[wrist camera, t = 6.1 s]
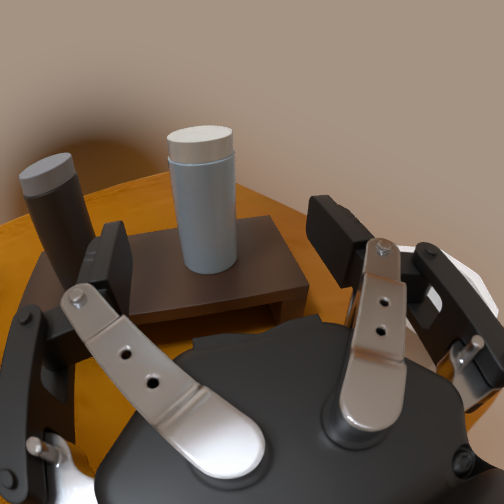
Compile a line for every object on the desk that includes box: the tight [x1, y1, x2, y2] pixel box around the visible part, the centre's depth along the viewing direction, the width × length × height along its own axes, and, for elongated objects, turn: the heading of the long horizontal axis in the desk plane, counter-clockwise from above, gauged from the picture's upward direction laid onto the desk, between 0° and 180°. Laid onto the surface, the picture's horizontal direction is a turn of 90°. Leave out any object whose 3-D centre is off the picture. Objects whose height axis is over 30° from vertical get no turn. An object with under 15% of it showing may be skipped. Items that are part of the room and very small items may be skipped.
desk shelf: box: [17, 215, 309, 326], centre depth 24 cm, size 24×10×5 cm, turn 104°
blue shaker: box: [167, 126, 238, 274], centre depth 20 cm, size 4×4×10 cm
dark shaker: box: [19, 153, 96, 291], centre depth 18 cm, size 4×4×10 cm
